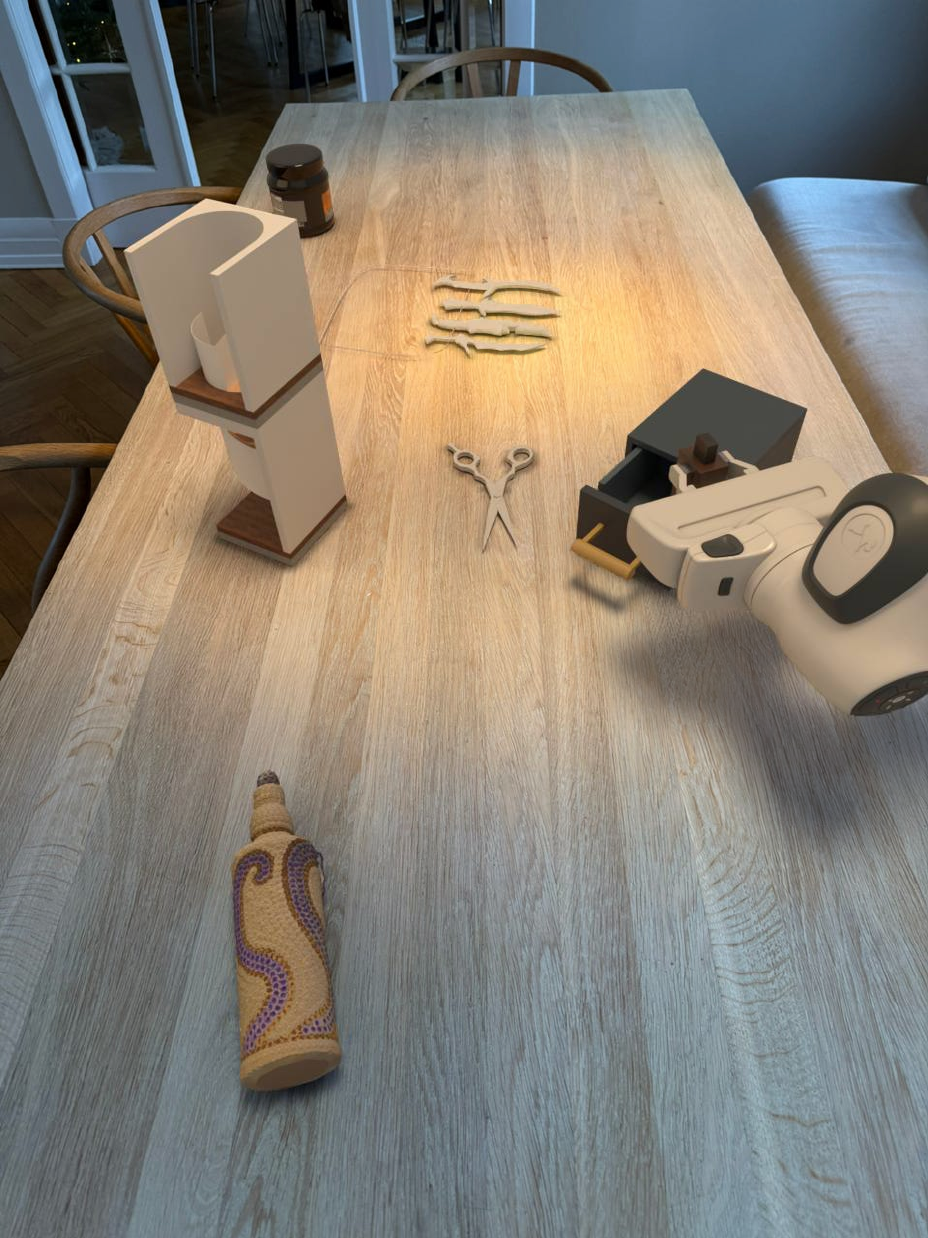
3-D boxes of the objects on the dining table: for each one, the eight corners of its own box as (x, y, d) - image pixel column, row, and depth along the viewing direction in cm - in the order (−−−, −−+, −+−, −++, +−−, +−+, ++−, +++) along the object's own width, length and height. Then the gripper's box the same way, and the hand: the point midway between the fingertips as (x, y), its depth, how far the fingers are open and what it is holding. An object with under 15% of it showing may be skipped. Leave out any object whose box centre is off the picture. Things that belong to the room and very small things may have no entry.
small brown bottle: (716, 517, 86) (733, 447, 80) (689, 525, 86) (704, 456, 79) (695, 492, 89) (710, 423, 82) (669, 500, 88) (682, 430, 82)
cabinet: (719, 548, 100) (736, 483, 93) (618, 499, 106) (627, 435, 99) (787, 473, 108) (807, 408, 101) (690, 432, 114) (702, 367, 107)
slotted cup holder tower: (277, 481, 111) (206, 198, 84) (348, 506, 107) (296, 218, 81) (220, 538, 104) (123, 250, 78) (293, 566, 101) (217, 275, 74)
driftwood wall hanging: (547, 371, 124) (547, 364, 123) (311, 351, 129) (310, 344, 129) (570, 280, 140) (571, 273, 139) (360, 265, 146) (359, 259, 145)
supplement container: (341, 212, 159) (331, 142, 150) (327, 240, 152) (316, 168, 143) (285, 210, 161) (272, 140, 151) (268, 238, 154) (254, 166, 145)
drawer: (644, 619, 92) (654, 567, 86) (549, 566, 98) (551, 514, 92) (740, 514, 102) (754, 461, 96) (649, 472, 108) (657, 419, 102)
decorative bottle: (352, 1076, 65) (338, 1051, 60) (250, 1101, 65) (228, 1077, 60) (318, 780, 82) (305, 740, 77) (237, 796, 81) (218, 758, 76)
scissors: (530, 437, 113) (547, 545, 100) (530, 442, 114) (547, 550, 101) (448, 442, 113) (454, 550, 100) (448, 447, 114) (454, 555, 100)
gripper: (893, 500, 75) (798, 410, 84) (679, 565, 71) (603, 463, 79) (870, 552, 80) (782, 462, 88) (668, 616, 76) (597, 515, 84)
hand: (696, 463), depth 84 cm, fingers closed on small brown bottle, 3 cm apart
